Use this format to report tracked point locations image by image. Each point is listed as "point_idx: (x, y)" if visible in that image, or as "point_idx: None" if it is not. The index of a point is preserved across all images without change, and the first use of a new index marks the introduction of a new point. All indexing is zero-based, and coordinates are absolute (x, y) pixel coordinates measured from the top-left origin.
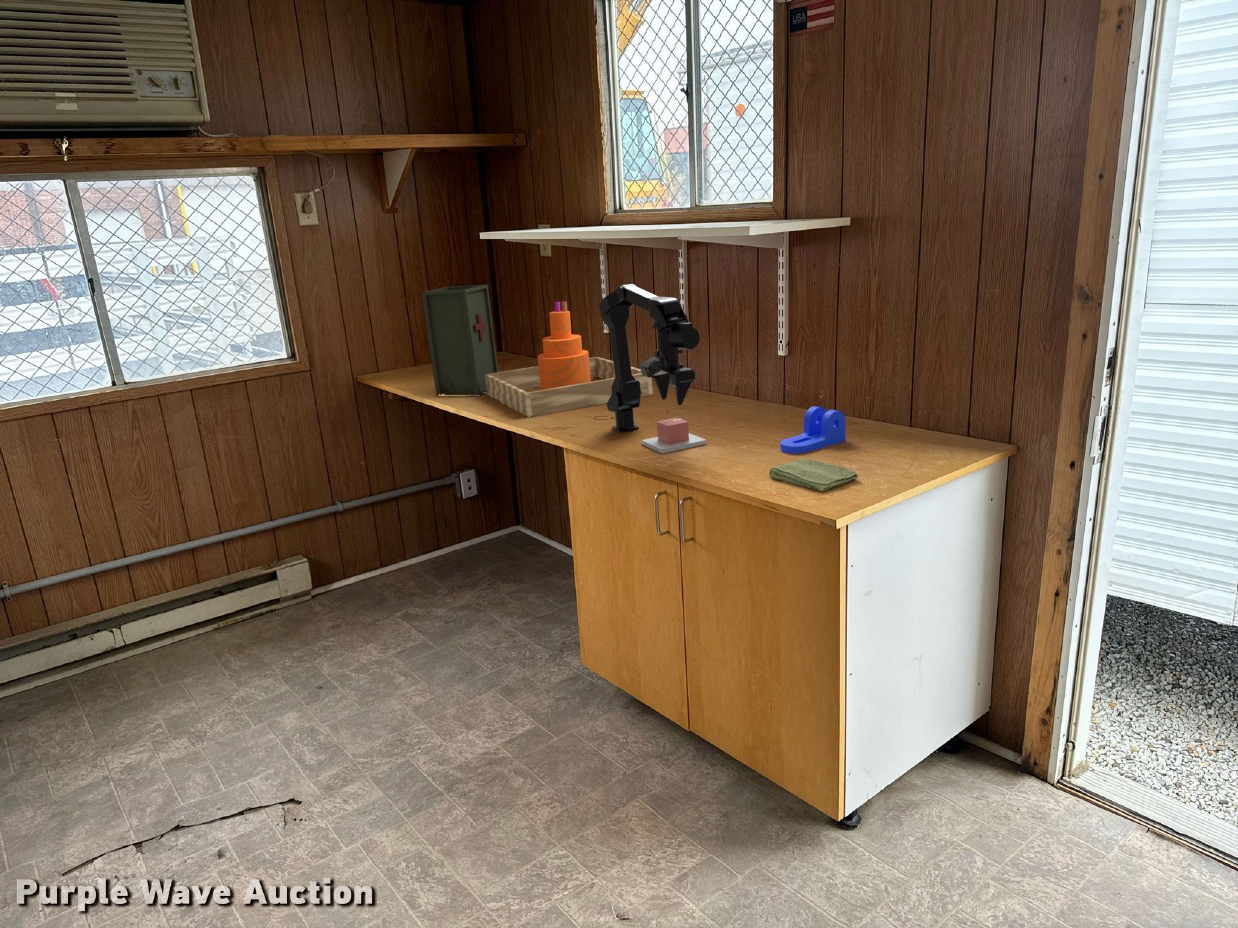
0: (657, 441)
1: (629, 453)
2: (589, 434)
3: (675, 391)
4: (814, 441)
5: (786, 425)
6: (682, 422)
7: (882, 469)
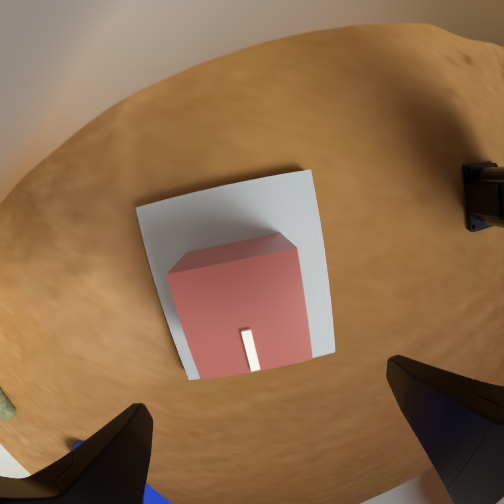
0: (256, 223)
1: (207, 98)
2: (469, 91)
3: (81, 468)
4: None
5: (264, 499)
6: (199, 357)
7: (18, 447)
